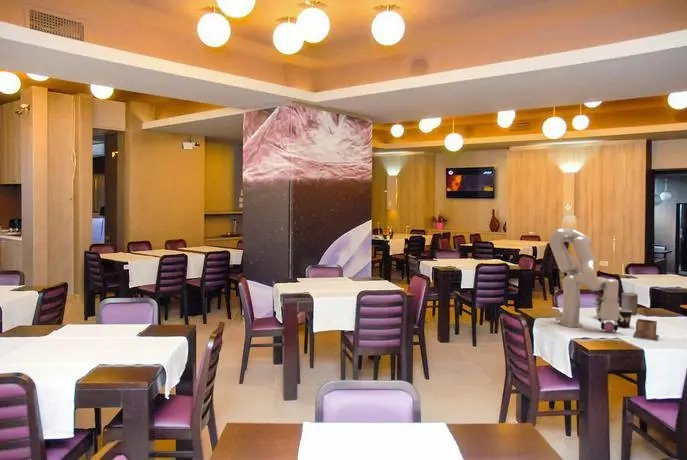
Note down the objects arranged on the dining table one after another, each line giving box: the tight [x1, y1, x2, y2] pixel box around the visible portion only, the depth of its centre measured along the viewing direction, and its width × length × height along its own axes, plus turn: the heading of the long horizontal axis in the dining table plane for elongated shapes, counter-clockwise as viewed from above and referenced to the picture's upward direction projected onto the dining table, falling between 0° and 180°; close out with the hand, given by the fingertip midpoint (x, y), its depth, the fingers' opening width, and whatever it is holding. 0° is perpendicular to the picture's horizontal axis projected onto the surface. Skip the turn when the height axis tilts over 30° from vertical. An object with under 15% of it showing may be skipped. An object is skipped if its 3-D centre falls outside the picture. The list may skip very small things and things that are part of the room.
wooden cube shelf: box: [632, 318, 660, 341], centre depth 312 cm, size 12×12×9 cm
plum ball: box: [604, 321, 615, 333], centre depth 322 cm, size 6×6×6 cm
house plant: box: [591, 293, 604, 318], centre depth 357 cm, size 14×14×16 cm
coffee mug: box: [617, 308, 633, 329], centre depth 336 cm, size 12×9×10 cm
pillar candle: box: [620, 292, 639, 316], centre depth 373 cm, size 10×10×15 cm
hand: (609, 330), depth 322 cm, fingers closed on plum ball, 5 cm apart
